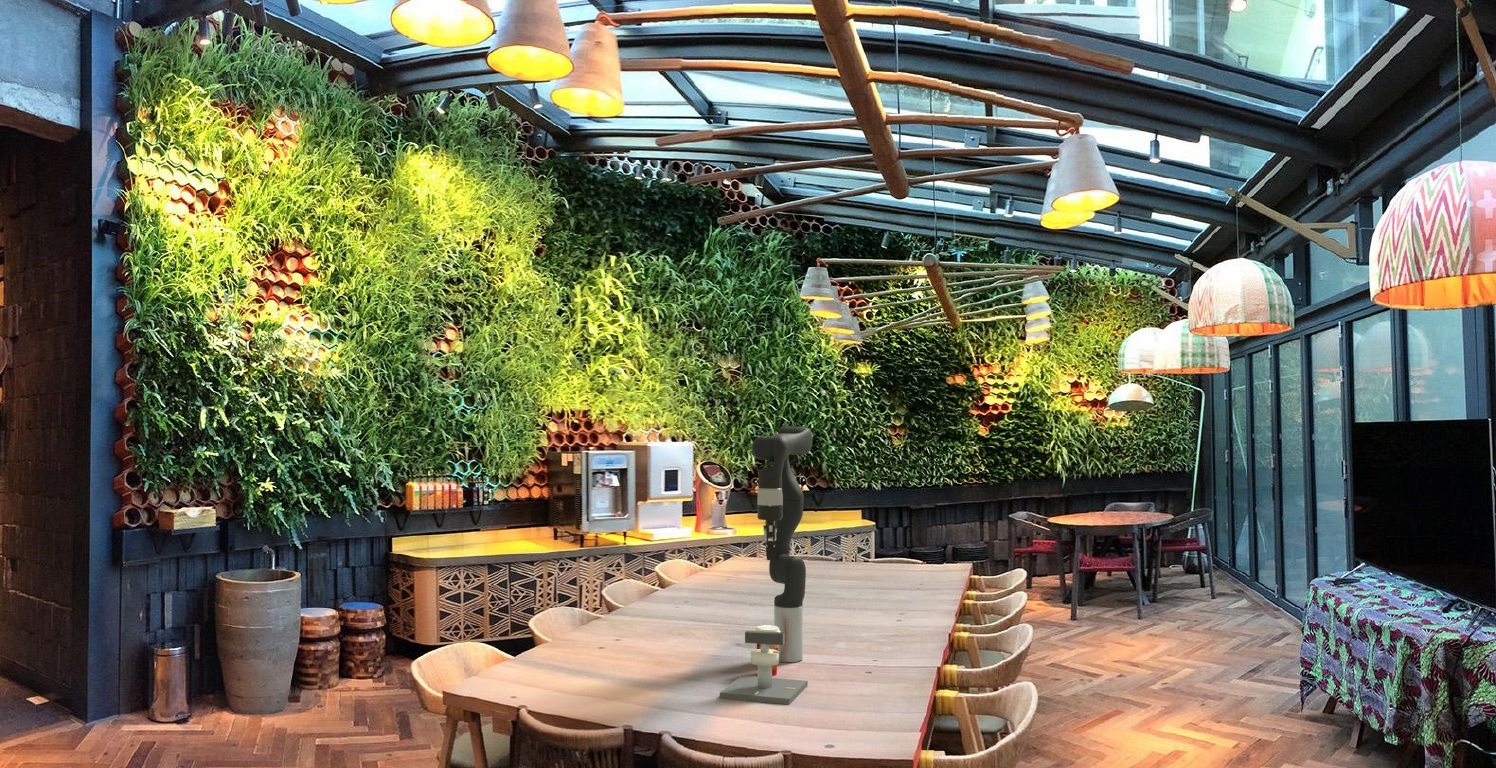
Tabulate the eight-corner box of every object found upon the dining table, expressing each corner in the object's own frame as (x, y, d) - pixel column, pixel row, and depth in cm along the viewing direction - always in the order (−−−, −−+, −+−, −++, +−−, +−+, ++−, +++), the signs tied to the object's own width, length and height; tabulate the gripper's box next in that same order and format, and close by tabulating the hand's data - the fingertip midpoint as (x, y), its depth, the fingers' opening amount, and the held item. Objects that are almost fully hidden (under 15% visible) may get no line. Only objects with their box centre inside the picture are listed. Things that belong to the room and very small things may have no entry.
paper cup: (758, 677, 296) (759, 630, 297) (752, 671, 304) (752, 625, 304) (783, 676, 298) (783, 629, 299) (776, 670, 306) (776, 624, 306)
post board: (742, 680, 293) (742, 653, 293) (807, 686, 287) (807, 658, 287) (719, 698, 274) (719, 668, 274) (789, 704, 268) (789, 674, 268)
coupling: (742, 664, 278) (742, 634, 278) (749, 658, 286) (749, 628, 286) (781, 667, 276) (781, 636, 276) (786, 660, 283) (786, 630, 284)
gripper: (757, 501, 302) (757, 555, 301) (757, 505, 288) (757, 561, 287) (781, 501, 302) (781, 555, 301) (783, 505, 288) (783, 561, 287)
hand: (770, 558), depth 294 cm, fingers open, 8 cm apart
